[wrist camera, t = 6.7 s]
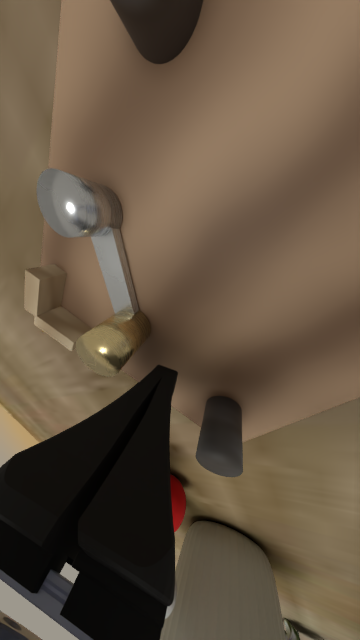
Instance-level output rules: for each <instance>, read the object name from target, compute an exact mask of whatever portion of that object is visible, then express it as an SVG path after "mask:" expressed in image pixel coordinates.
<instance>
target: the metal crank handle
mask: <svg viewBox="0 0 360 640" xmlns="http://www.w3.org/2000/svg"><path fill="white" fill-rule="evenodd" d="M37 199H38V203H39V207H40V209H41V212H42V214H43V216H44V218H45V220H46V221H47V223H48V224H49V225H50V227H51V228H52V229H53V230H54V231H55V232H57V233H58V234H60V235H61V236H64V237H69V238H71V237H91V239H92V242H93V245H94V249H95V252H96V255H97V258H98V261H99V265H100V268H101V271H102V274H103V277H104V281H105V284H106V287H107V290H108V293H109V297H110V300H111V303H112V306H113V309H114V312H115V314H114V315H112V316H111V317H109V318H108V319H106V320H105V321H103V322H101V323H100V324H98V325H97V326H95V327H94V328H92V329H91V330H89V331H88V332H86V333H85V334H83V335H82V336H80V337H79V338H78V339H77V341H76V350H77V353H78V355H79V357H80V359H81V360H82V361H83V363H84V364H85V365H86V366H87V367H88V368H90V369H91V370H92V371H94V372H95V373H97V374H100V375H102V376H107V377H111V376H115V375H116V374H117V373H118V372H119V371H120V370H121V369H122V368H123V366H124V365H125V364H126V363H127V362H128V361H129V359H130V358H131V357H132V356H133V355H134V354H135V353H136V351H137V350H138V349H139V348H140V347H141V346H142V344H143V343H144V342H145V341H146V340H147V339H148V337H149V336H150V334H151V325H150V322H149V320H148V318H147V317H146V316H145V315H144V314H143V313H142V312H141V311H139V308H138V304H137V300H136V296H135V292H134V287H133V283H132V279H131V275H130V271H129V267H128V263H127V259H126V255H125V250H124V246H123V242H122V238H121V234H120V230H119V228H120V226H121V223H122V209H121V205H120V202H119V200H118V198H117V196H116V195H115V193H114V192H113V191H112V190H111V189H110V188H108V187H107V186H104V185H101V184H99V183H96V182H93V181H90V180H87V179H84V178H81V177H78V176H75V175H73V174H70V173H67V172H64V171H61V170H58V169H54V168H50V169H46V170H45V171H43V172H42V174H41V175H40V177H39V179H38V183H37Z"/></svg>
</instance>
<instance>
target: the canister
mask: <svg viewBox="0 0 360 640" xmlns="http://www.w3.org/2000/svg"><path fill="white" fill-rule="evenodd" d="M175 576H176V581H177V597H176V602H175V606H174V608H173V611H172V612H171V614H170V615H169V616H168V617H167V618H166V619H165V622H164V626H163V628H162V631H161V636H160V640H286V636H285V631H284V625H283V620H282V614H281V609H280V603H279V598H278V592H277V587H276V583H275V578H274V575H273V571H272V568H271V565H270V563H269V561H268V559H267V557H266V555H265V553H264V552H263V551H262V550H261V548H260V547H259V546H258V545H256V544H255V543H254V542H253V541H252V540H250V539H249V538H247V537H246V536H244V535H242V534H241V533H239V532H237V531H235V530H233V529H231V528H229V527H226V526H224V525H221V524H218V523H215V522H210V521H197V522H194V523H193V524H192V525H191V526H190V528H189V529H188V531H187V534H186V536H185V539H184V542H183V545H182V549H181V552H180V556H179V560H178V563H177V567H176V571H175Z"/></svg>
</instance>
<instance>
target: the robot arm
mask: <svg viewBox="0 0 360 640" xmlns="http://www.w3.org/2000/svg"><path fill="white" fill-rule="evenodd" d="M177 376H178V372H177V371H175V370H172V369H170V368H167V367H164V366H162V365H157V366H156V367H155V368H154V369H153V370H152V371H151V372H150V373H149V374H148V375H147V376H145V377H144V378H143V379H142V380H141V381H140V382H138V383H137V384H136V385H135V386H134V387H132V388H131V389H130V390H129V391H127V392H126V393H125V394H123V395H122V396H121V397H119V398H118V399H117V400H115V401H114V402H112V403H111V404H109V405H108V406H106V407H105V408H103V409H102V410H100V411H99V412H97V413H95V414H94V415H92V416H90V417H89V418H87V419H85V420H83V421H82V422H80V423H78V424H76V425H74V426H73V427H71V428H69V429H67V430H65V431H63V432H61V433H59V434H57V435H55V436H53V437H51V438H49V439H47V440H45V441H43V442H41V443H39V444H36V445H34V446H32V447H30V448H28V449H26V450H23V451H21V452H19V453H17V454H15V455H14V456H13V457H12V458H11V459H10V460H8V461H7V462H6V463H5V464H4V465H2V467H1V468H0V579H1V580H2V581H3V582H5V583H6V584H7V585H9V586H10V587H12V588H13V589H14V590H15V591H16V592H18V593H19V594H21V595H22V596H23V597H24V598H26V599H27V600H28V601H30V602H31V603H32V604H34V605H35V606H36V607H38V608H39V609H40V610H41V611H43V612H44V613H45V614H47V615H48V616H49V617H50V618H52V619H53V620H54V621H56V622H57V623H58V624H60V625H61V626H62V627H64V628H65V629H66V630H67V631H69V632H70V633H71V634H73V635H74V636H75V637H77V638H78V639H79V640H160V636H161V631H162V628H163V626H164V622H165V616H166V611H167V606H170V605H171V604H172V603H173V600H174V592H175V536H174V525H173V512H172V499H171V482H170V453H169V436H170V413H171V402H172V396H173V393H174V389H175V385H176V381H177ZM66 562H67V563H68V564H70V565H71V566H72V567H73V568H74V569H76V570H77V571H79V574H78V576H77V578H76V580H75V583H74V584H73V583H72V582H71V581H69V580H68V579H66V578H65V577H63V576H62V575H60V572H61V570H62V568H63V566H64V564H65V563H66ZM0 640H42V639H41V638H39V637H38V636H37V635H35V634H34V633H32V632H31V631H29V630H28V629H27V628H25V627H24V626H22V625H21V624H19V623H18V622H16V621H15V620H13V619H12V618H10V617H9V616H7V615H6V614H4V613H2V612H1V611H0Z"/></svg>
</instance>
